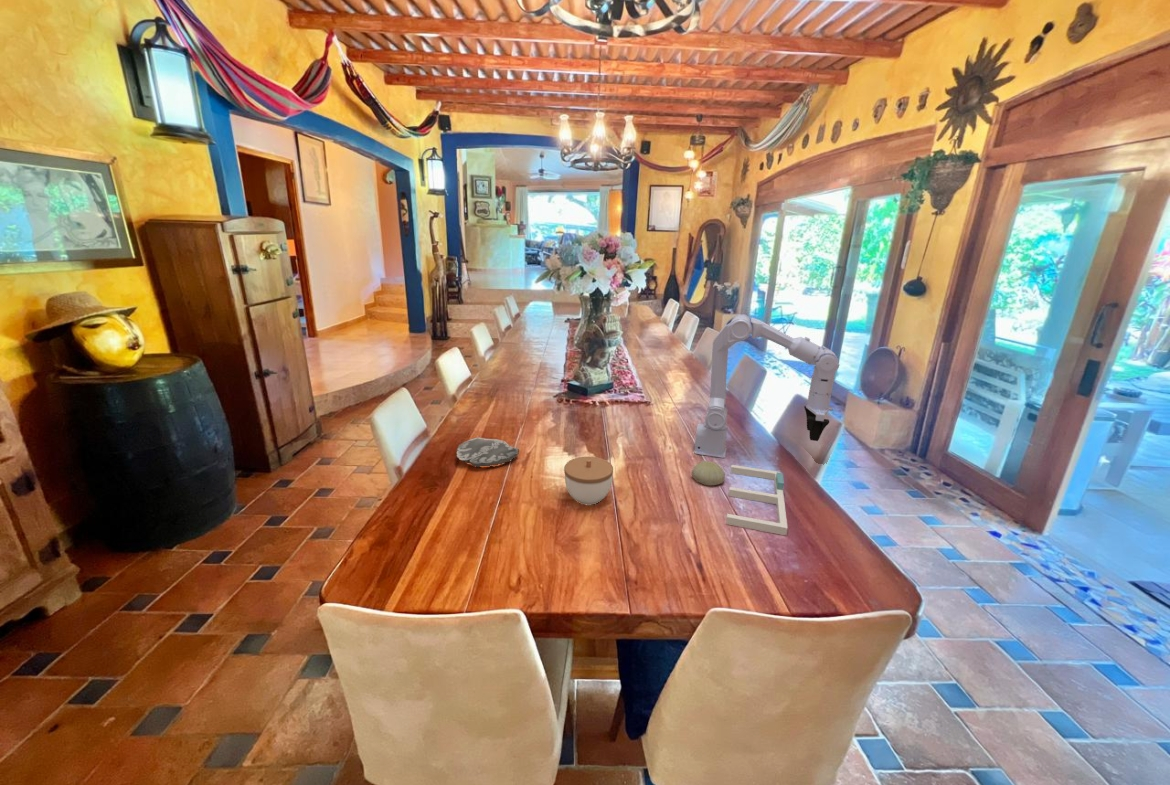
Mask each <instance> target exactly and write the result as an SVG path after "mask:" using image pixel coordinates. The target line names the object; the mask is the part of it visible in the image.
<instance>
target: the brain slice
mask: <svg viewBox="0 0 1170 785" xmlns="http://www.w3.org/2000/svg"><path fill="white" fill-rule="evenodd" d="M519 454H520V449H519V448H518V447H514V446H511V445H510V444H508V443H507V442H506V441H505V440H501V439H499V438H498V439H497V438H484V437H474V438H471V439H468V440H466V441H463V442H462V443H460V444H458V447H457V448H456V458H458V460H460V461H462V462H464V461H465V462H466V463H465V462H464V463H465V464H467V463H471V464H472V466H473V467H474V466H476V467H480V466H490V465H498V464H502V463H505V462H506V463H509V462H508V461H510V460H512V459H513V458H514V459H516V457H518V455H519ZM514 459H513V460H514ZM513 460H512V461H513ZM510 462H511V461H510ZM506 463H505V464H506ZM476 467H475V468H476Z"/></svg>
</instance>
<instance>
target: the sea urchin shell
mask: <svg viewBox="0 0 1170 785" xmlns="http://www.w3.org/2000/svg"><path fill="white" fill-rule="evenodd" d="M691 475H692V478H693V479H694V480H695V481H697V482H698V483H700V484H702V485H705V486H718V485H721V484H722V483H723V482H724V481H725V479H726V478H725V477H726V473H725V471H724V470H723V468H722V467H721V465H720V464H719V463H717V462H714V461H709V460H703V461H701V462H699V463H697V464H696V465H694V466H693V468H692V470H691Z"/></svg>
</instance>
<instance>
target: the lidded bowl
mask: <svg viewBox="0 0 1170 785" xmlns="http://www.w3.org/2000/svg"><path fill="white" fill-rule="evenodd" d="M563 472H564V482H565V486H566V487H565V488H566V490H567V492H568V494H569V495H570V496H571V498H572V499H573V500H575V501H576V500H577V501H578V502H580V503H581V504H580V505H582V504H587V505H586V506H592V505H591V504H595V505H597V504H596V503H598V502H599V503H601V502H600V501H602V500H604V499H605V498H606V497H607V495H608V494H609V492H610V490H611V487H612V485H613V484H612V482H613V475H614V474H613V473H614V466H613V464H612V463H611V462H609V461H608V460H606V459H604V458H601V457H597V456H580V457H575V458H573V459H571V460H569V461H567V462H566V463H565V465H564V469H563ZM578 502H577V503H578ZM599 503H598V504H599Z"/></svg>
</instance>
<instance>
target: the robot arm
mask: <svg viewBox="0 0 1170 785" xmlns="http://www.w3.org/2000/svg"><path fill="white" fill-rule="evenodd" d="M750 336H751V339H757V338H764V339H766V340H768V341H771V342H772V343H775V344H777V345H778V346H782V347H784V348H785V349H786V348H787V351H788V354H789V355H790V356H792V357H794V358H796V359H797V360H799V361H802V362H804V363H806V364H808V365H810V366H814V367H813V373H812V375H811V381H810V386H809V392H808V396H807V402H806V404H805V405H804V406H803V408H804V410H805V411H804V412H805V415H806V429H807V431H809V441H815V442H818V441H819V440H820V438H821V435H822V433H823V431H824V430H825V428H826V427H827V426H828V425H829V424H830V419H828V418H827V419H826V418H825V416H826V414H827V413H829V411H831V412H832V411H834V407H833V406H831V405H830V403H831V402H830V401H831V398H832V397H831V396H832V392H833V386H834V381H835V374H836V372H837V370H838V369H839V368H840V361H839V358H838V357H837V355H836V354H835V352H834V351H832V350H831V349H830V348H828V347H826V346H824V345H821V346H820V345H818V344H816V343H815V342H812V341H811V339H810V338H809V337H807V336H805V337H802V336H798V337H792V336H791V335H788V334H786V333H784V332H782V330H781V331H780V330H779V329H777V328H775V327H773V326H771V325H770V324H767V323H766V322H764V321H762V320H759V319H757V318H756V317H752V316H751V317H750V316H748V315H747V314H743V313H739V314H736V315H734V316H733V317H731V318H730V319H728V320H727V321H726V323H725V324H724V326H723V327H722V328H721V329H720V331H719V332H718V333H717V334H716V336H715V337H714V338H713V342H712V349H711V350H712V351H711V352H712V353H711V369H710V370H711V372H710V373H711V375H710V393H709V394H710V395H709V402H708V403H709V405H708V408H707V412H706V415H705V417H704V418H705V419H704V421H703V422H704V423H698V424H697V427H696V432H695V440H694V451H693V452H694V454H696V455H701V456H709V457H714V458H722V459H725V458H726V455H727V446H726V442H727V432H728V424H727V416H728V412H729V410H728V407H727V404H726V395H727V394H726V393H727V392H726V390H727V374H728V372H727V371H728V359H729V358H728V355H729V349H730V348H731V347H733V346H734V345H735V344H737V343H740V342H741V341H744V340H747V339H748V338H749V337H750Z"/></svg>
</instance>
